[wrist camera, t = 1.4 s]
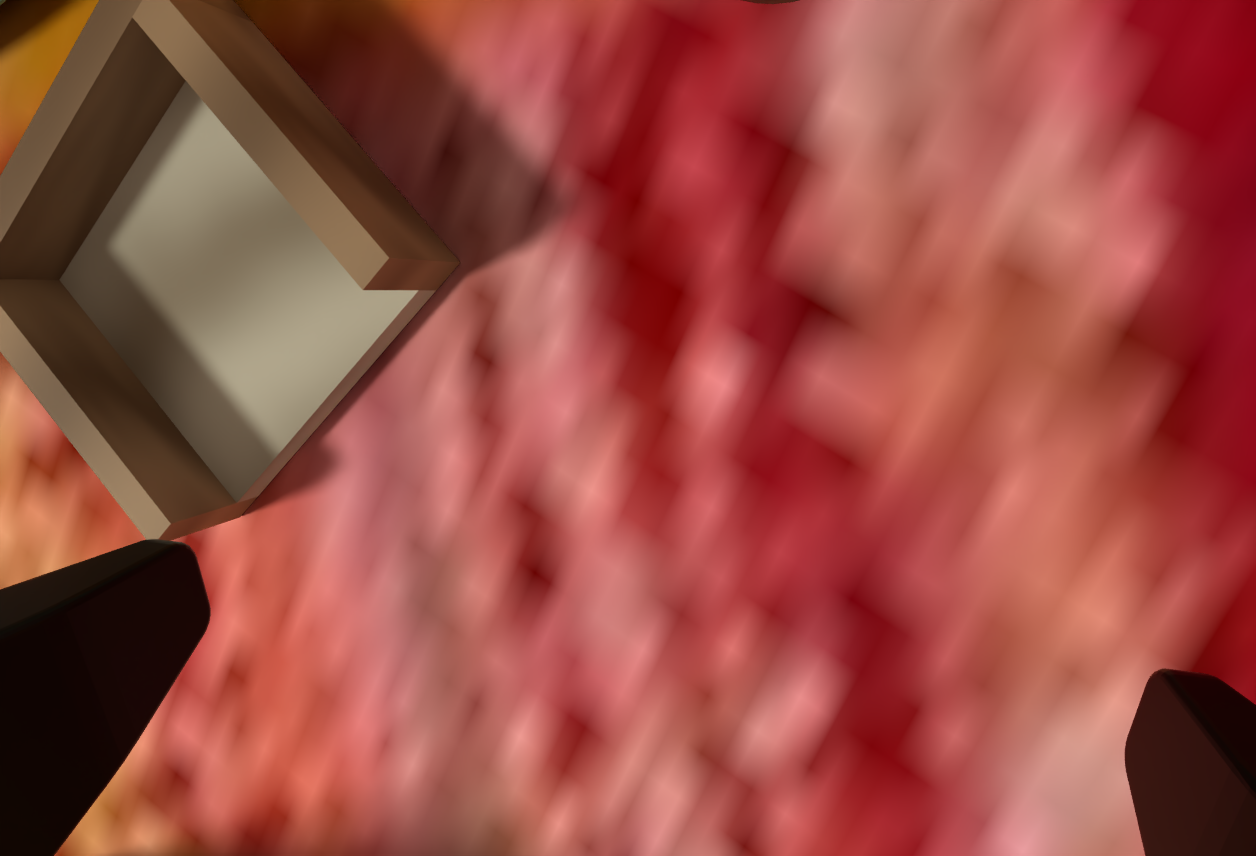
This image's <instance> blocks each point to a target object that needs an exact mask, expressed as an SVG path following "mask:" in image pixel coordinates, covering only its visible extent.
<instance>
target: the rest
mask: <svg viewBox="0 0 1256 856" xmlns="http://www.w3.org/2000/svg"><path fill="white" fill-rule="evenodd" d="M459 264H460V262H459V261H458V259H457V258H456V257H455V256H454V255H453V254H452V252H451V251H450V250H449V249H448V248H447V247H446V246H445V244H444V243H443V242H442V241H441V240H440V239H439V237H438V236H437V235H436V234H435V233H434V232H433V230H432V229H431V228H430V227H429V226H428V225H427V224H426V222H425V221H424V220H423V219H422V218H421V217H420V215H419V214H418V213H417V212H416V211H415V210H414V208H413V207H412V206H411V205H410V204H409V203H408V202H407V200H406V199H405V198H404V197H403V196H402V195H401V193H400V192H399V191H398V190H397V189H396V188H395V186H394V185H393V184H392V183H391V182H390V181H389V180H388V178H387V177H386V176H385V175H384V174H383V173H382V171H381V170H380V169H379V168H378V167H377V166H376V165H375V163H374V162H373V161H372V160H371V159H370V158H369V156H368V155H367V154H366V153H365V152H364V151H363V149H362V148H361V147H360V146H359V145H358V144H357V143H356V141H355V140H354V139H353V138H352V137H351V136H350V134H349V133H348V132H347V131H346V130H345V129H344V127H343V126H342V125H341V124H340V123H339V122H338V121H337V119H336V118H335V117H334V116H333V115H332V114H331V112H330V111H329V110H328V109H327V108H326V107H325V105H324V104H323V103H322V102H321V101H320V100H319V99H318V97H317V96H316V95H315V94H314V93H313V92H312V90H311V89H310V88H309V87H308V86H307V85H306V83H305V82H304V81H303V80H302V79H301V78H300V77H299V75H298V74H297V73H296V72H295V71H294V70H293V68H292V67H291V66H290V65H289V64H288V63H287V62H286V60H285V59H284V58H283V57H282V56H281V55H280V53H279V52H278V51H277V50H276V49H275V48H274V46H273V45H272V44H271V43H270V42H269V41H268V40H267V38H266V37H265V36H264V35H263V34H262V33H261V31H260V30H259V29H258V28H257V27H256V26H255V24H254V23H253V22H252V21H251V20H250V19H249V18H248V16H247V15H246V14H245V13H244V12H243V11H242V9H241V8H240V7H239V6H238V5H237V4H236V2H235V1H234V0H99V2H98V4H97V5H96V7H95V9H94V11H93V12H92V14H91V16H90V18H89V20H88V21H87V23H86V25H85V27H84V28H83V30H82V32H81V34H80V36H79V37H78V39H77V41H76V43H75V44H74V46H73V48H72V50H71V52H70V53H69V55H68V57H67V59H66V60H65V62H64V64H63V66H62V68H61V69H60V71H59V73H58V75H57V76H56V78H55V80H54V82H53V83H52V85H51V87H50V89H49V91H48V92H47V94H46V96H45V98H44V99H43V101H42V103H41V105H40V107H39V108H38V110H37V112H36V114H35V115H34V117H33V119H32V121H31V123H30V124H29V126H28V128H27V130H26V131H25V133H24V135H23V137H22V139H21V140H20V142H19V144H18V146H17V147H16V149H15V151H14V153H13V155H12V156H11V158H10V160H9V162H8V163H7V165H6V167H5V169H4V171H3V172H2V174H1V176H0V352H1V353H2V354H3V356H4V357H5V358H6V359H7V361H8V362H9V363H10V365H11V366H12V367H13V368H14V370H15V371H16V372H17V374H18V375H19V376H20V377H21V379H22V380H23V381H24V383H25V384H26V385H27V386H28V388H29V389H30V390H31V392H32V393H33V394H34V395H35V397H36V398H37V399H38V401H39V402H40V403H41V404H42V406H43V407H44V408H45V410H46V411H47V412H48V413H49V415H50V416H51V417H52V419H53V420H54V421H55V422H56V424H57V425H58V426H59V428H60V429H61V430H62V432H63V433H64V434H65V435H66V437H67V438H68V439H69V441H70V442H71V443H72V444H73V446H74V447H75V448H76V450H77V451H78V452H79V453H80V455H81V456H82V457H83V459H84V460H85V461H86V462H87V464H88V465H89V466H90V468H91V469H92V470H93V471H94V473H95V474H96V475H97V477H98V478H99V479H100V480H101V482H102V483H103V484H104V486H105V487H106V488H107V489H108V491H109V492H110V493H111V495H112V496H113V497H114V498H115V500H116V501H117V502H118V504H119V505H120V506H121V508H122V509H123V510H124V511H125V513H126V514H127V515H128V517H129V518H130V519H131V520H132V522H133V523H134V524H135V526H136V527H137V528H138V529H139V531H140V532H141V533H142V535H143V536H144V537H145V538H146V540H148V539H159V540H167V541H171V540H174V539H177V538H180V537H182V536H185V535H188V534H191V533H194V532H197V531H200V530H203V529H206V528H209V527H212V526H215V525H218V524H221V523H224V522H227V521H230V520H233V519H236V518H239V517H241V515H242V514H243V513H244V512H245V511H246V510H247V508H248V507H249V506H250V505H251V504H252V503H253V502H254V500H255V499H256V498H257V497H258V496H259V495H260V493H261V492H262V491H263V490H264V489H265V488H266V487H267V485H268V484H269V483H270V482H271V481H272V480H273V478H274V477H275V476H276V475H277V474H278V473H279V472H280V470H281V469H282V468H283V467H284V466H285V465H286V463H287V462H288V461H289V460H290V459H291V458H292V457H293V455H294V454H295V453H296V452H297V451H298V450H299V448H300V447H301V446H302V445H303V444H304V443H305V442H306V440H307V439H308V438H309V437H310V436H311V435H312V433H313V432H314V431H315V430H316V429H317V428H318V426H319V425H320V424H321V423H322V422H323V421H324V420H325V418H326V417H327V416H328V415H329V414H330V413H331V411H332V410H333V409H334V408H335V407H336V406H337V405H338V403H339V402H340V401H341V400H342V399H343V398H344V396H345V395H346V394H347V393H348V392H349V391H350V390H351V388H352V387H353V386H354V385H355V384H356V383H357V381H358V380H359V379H360V378H361V377H362V376H363V375H364V373H365V372H366V371H367V370H368V369H369V368H370V366H371V365H372V364H373V363H374V362H375V361H376V360H377V358H378V357H379V356H380V355H381V354H382V353H383V351H384V350H385V349H386V348H387V347H388V346H389V344H390V343H391V342H392V341H393V340H394V339H395V338H396V336H397V335H398V334H399V333H400V332H401V331H402V329H403V328H404V327H405V326H406V325H407V324H408V323H409V321H410V320H411V319H412V318H413V317H414V316H415V314H416V313H417V312H418V311H419V310H420V309H421V308H422V306H423V305H424V304H425V303H426V302H427V301H428V299H429V298H430V297H431V296H432V295H433V294H434V293H435V291H436V290H437V289H438V288H439V287H440V286H441V284H442V283H443V282H444V281H445V280H446V279H447V278H448V276H449V275H450V274H451V273H452V272H453V271H454V269H455V268H456V267H457V266H458V265H459Z"/></svg>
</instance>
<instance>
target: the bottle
mask: <svg viewBox="0 0 1256 856" xmlns="http://www.w3.org/2000/svg"><path fill="white" fill-rule="evenodd" d="M743 1H748V2H753V3H765V4H777V3H787V2H794V1H798V0H743Z"/></svg>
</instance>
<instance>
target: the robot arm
mask: <svg viewBox="0 0 1256 856" xmlns="http://www.w3.org/2000/svg"><path fill="white" fill-rule="evenodd" d="M210 616H211V608H210V603H209V599H208V596H207V592H206V589H205V585H204V582H203V578H202V575H201V571H200V567H199V564H198V560H197V557H196V554H195V552H194V551H193V550H192V549H191V547H190V546H189V545H186V544H185V543H182V542H174V541H167V540H159V539H148V540H143V541H140V542H137V543H134V544H131V545H128V546H125V547H123V548H120V549H117V550H114V551H111V552H108V553H105V554H102V555H99V556H96V557H94V558H91V559H88V560H85V561H82V562H79V563H76V564H73V565H70V566H67V567H65V568H62V569H59V570H56V571H53V572H50V573H47V574H44V575H41V576H38V577H35V578H33V579H30V580H27V581H24V582H21V583H18V584H15V585H12V586H9V587H6V588H4V589H1V590H0V856H54V855H55V854H56V853H57V851H58V850H59V849H60V847H61V846H62V845H63V843H64V842H65V841H66V839H67V838H68V837H69V835H70V834H71V833H72V831H73V830H74V829H75V827H76V826H77V825H78V823H79V822H80V821H81V819H82V818H83V817H84V815H85V814H86V813H87V811H88V810H89V809H90V807H91V806H92V805H93V803H94V802H95V801H96V799H97V798H98V797H99V795H100V794H101V793H102V791H103V790H104V789H105V787H106V786H107V785H108V783H109V782H110V781H111V779H112V778H113V776H114V775H115V774H116V772H117V771H118V769H119V768H120V767H121V765H122V764H123V762H124V761H125V759H126V758H127V756H128V755H129V753H130V752H131V750H132V749H133V747H134V746H135V744H136V743H137V741H138V740H139V738H140V736H141V735H142V733H143V731H144V730H145V728H146V727H147V725H148V723H149V722H150V720H151V719H152V717H153V715H154V714H155V712H156V711H157V709H158V707H159V706H160V704H161V703H162V701H163V699H164V698H165V696H166V695H167V693H168V691H169V690H170V688H171V687H172V685H173V683H174V682H175V680H176V679H177V677H178V675H179V674H180V672H181V671H182V669H183V667H184V666H185V664H186V663H187V661H188V659H189V658H190V656H191V655H192V653H193V651H194V650H195V648H196V647H197V645H198V643H199V642H200V640H201V638H202V637H203V635H204V634H205V632H206V630H207V627H208V624H209V621H210ZM1125 767H1126V773H1127V777H1128V781H1129V786H1130V790H1131V795H1132V799H1133V803H1134V808H1135V812H1136V817H1137V821H1138V825H1139V830H1140V834H1141V838H1142V843H1143V847H1144V852H1145V856H1256V705H1255V704H1254V703H1252V702H1251V701H1250V700H1248V699H1247V698H1245V697H1244V696H1243V695H1241V694H1240V693H1239V692H1237V691H1236V690H1234V689H1233V688H1232V687H1230V686H1229V685H1227V684H1226V683H1225V682H1223V681H1222V680H1220V679H1219V678H1217V677H1215V676H1212V675H1209V674H1204V673H1196V672H1189V671H1181V670H1173V669H1160V670H1158V671H1155V672H1154V673H1153V674H1152V675H1151V676H1150V678H1149V680H1148V682H1147V684H1146V687H1145V689H1144V692H1143V695H1142V698H1141V701H1140V703H1139V706H1138V709H1137V712H1136V715H1135V717H1134V720H1133V723H1132V726H1131V729H1130V731H1129V734H1128V737H1127V741H1126V746H1125Z"/></svg>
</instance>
